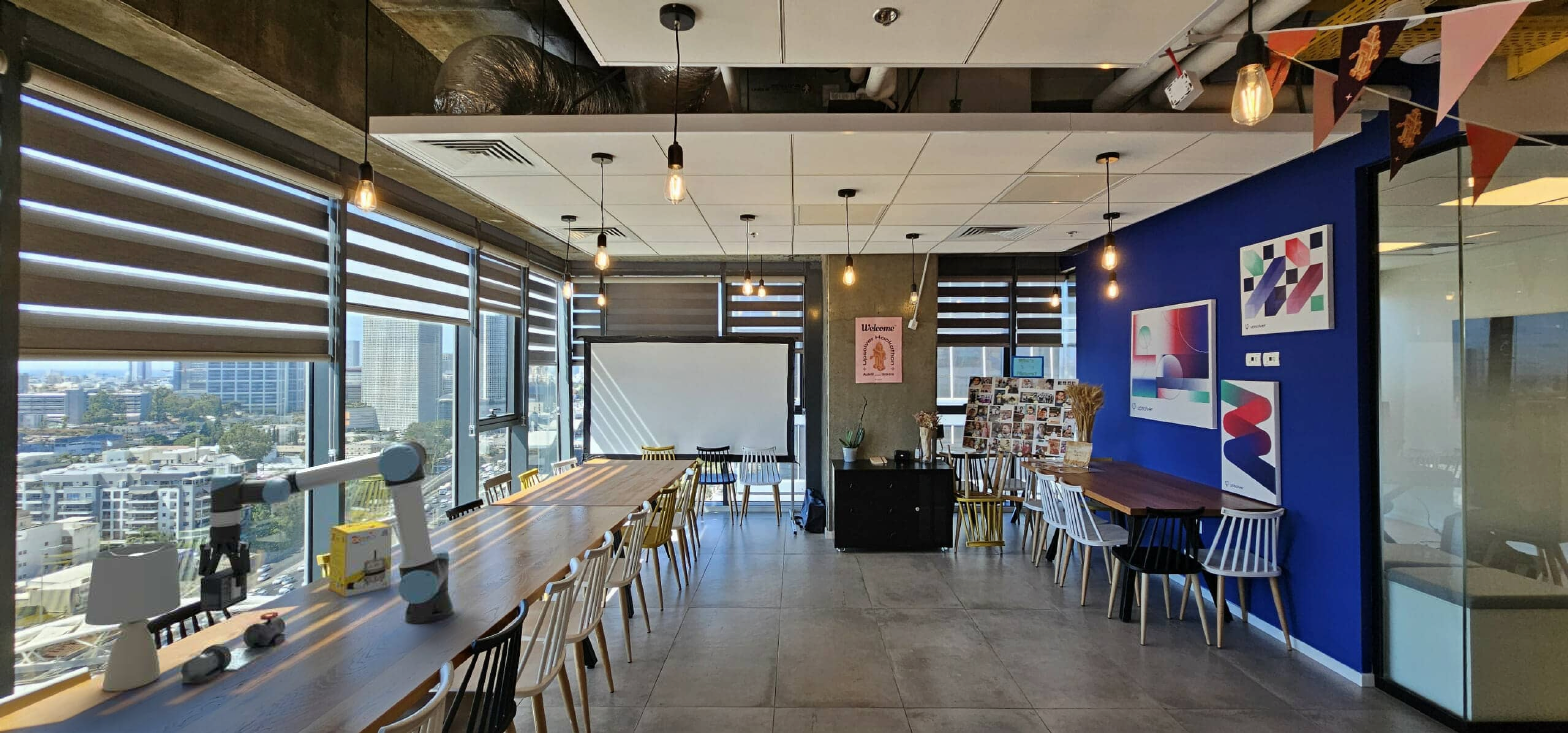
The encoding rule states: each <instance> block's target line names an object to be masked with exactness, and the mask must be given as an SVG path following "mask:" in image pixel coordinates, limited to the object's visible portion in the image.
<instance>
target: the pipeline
mask: <svg viewBox="0 0 1568 733" xmlns="http://www.w3.org/2000/svg"><path fill="white" fill-rule="evenodd" d="M278 616H279V612H276V611H273V612H272V611H271V612H267V613H264V614H261V615H260V620H262V621H264V622H256V623H253V624H251V625H250V626H248V627H247V628H246V629H245V630H244V633H243V642H244V643H245V644H244V645H245V646H247V647H237V648H235V649H233V650H232V651H230V649H229V648H228V647H227V646H225V645H223V644H220V643H217V644H212V645H210V646H207V647H206V648H204V649H203V650H202V651H201V653H200V655H198V656H196V657H194V658H192V659H190V660H188V661H186V662H185V663H183V665H182V667H181V671H180V672H181V676H182V677H181V679H182V681H181V684H182V683H201V684H210V683H211V681H212V680H214V681H215V680H217V679H219V678H221V677H220V676H222V674H221V673H222V672H238V671H239V670H241V669H244V668H245V667H246V666H249V665H250V664H251V663H253V662H255V661H257V660H259V659H260V658H262V657H264V656H265V655H268V654H269V653H270V652H273V651H274V650H275V647H267V646H277V645H278V644H280V643H281V642H283V641H285V633H284V632H285V629H286V623H285V621H284V620H283V619H282V618H280V617H278ZM218 677H219V678H218ZM209 682H210V683H209ZM212 682H213V681H212Z"/></svg>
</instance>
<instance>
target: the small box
mask: <svg viewBox="0 0 1568 733" xmlns="http://www.w3.org/2000/svg"><path fill="white" fill-rule="evenodd" d="M247 576H248V573H247V574H245V575H244V576H243V585H242V586H241V596H239V597H236V598H234V599H231V581H232V578H233V577H234V573H233V570H232V567H226V568H224V569H221V570H218V571H216V572H215V573H213V574H210V575H208V576H205V577H204V576H202V577H201V578H200V594H199V595H200V602H199V604H200V606H199V607H200V609H199V612H222V611H224V610H226V609H229V608H231V607H232V606H235V605H237V604H239V603H242V602H243V601H246V600H247V599H248V592H247V591H248V589H247V588H248V584H247V583H248V577H247Z"/></svg>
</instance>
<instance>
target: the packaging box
mask: <svg viewBox="0 0 1568 733" xmlns="http://www.w3.org/2000/svg"><path fill="white" fill-rule="evenodd" d="M392 529H393V526H392V525H390V524H388V523H384V522H382V521H379V520H374V519H373V520H368V521H362V522H355V523H348V524H343V525H336V526H331V527H330V535H329V536H330V538H329V539H330V541H329V543H330V544H329V545H330V546H329V573H328V575H329V576H328V589H329V590H331V591H332V592H334V593H337V594H338V595H340V596H342V597H343V598H346V597H351V596H356V595H360V594H363V593H368V592H372V591H376V590H380V589H384V588H389V587H391V568H392V565H391V563H392Z"/></svg>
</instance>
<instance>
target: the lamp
mask: <svg viewBox="0 0 1568 733" xmlns="http://www.w3.org/2000/svg"><path fill="white" fill-rule="evenodd" d="M179 565H180V564H179V551H178V544H176V543H172V542H154V543H153V542H152V543H151V542H150V543H143V544H134V545H125V546H121V547H120V546H119V547H116V548H112V549H107V550H103V551H100V552H97V553H96V554H94V555H93V558H92V564H91V573H90V579H89V580H90V581H89V588H88V595H87V602H86V609H85V617H84V623H85V625H91V626H113V625H118V629H119V630H120V633H119V635H118V636H117V638H116V640H115V642H114V644H113V646H112V648H111V650H110V653H109V657H108V659H107V665H106V667H105V672H104V677H103V683H102V688H103V690H104V691H105V692H110V693H111V691H113V692H114V691H116V692H124V691H129V690H133V689H137V688H141V687H143V686H146V685H148V684H150V683H153V682H154V681H156V680H157V679H158V678H159V677H160V676H161V668H160V660H159V655H158V650H157V645H156V641H155V640H154V637H153V635H152V633H151V632H150V630H149V629H148V627H147V626H148V624H149V623H150V620H149V619H151V618H155V617H160V616H162V615H165V614H168V613H170V612H173V611H174V610H176V609H178V608H179V607H181V605H182V604H181V602H182V601H181V586H180V584H181V583H180V569H179ZM159 675H160V676H159ZM113 692H112V693H113ZM114 693H115V692H114Z"/></svg>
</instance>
